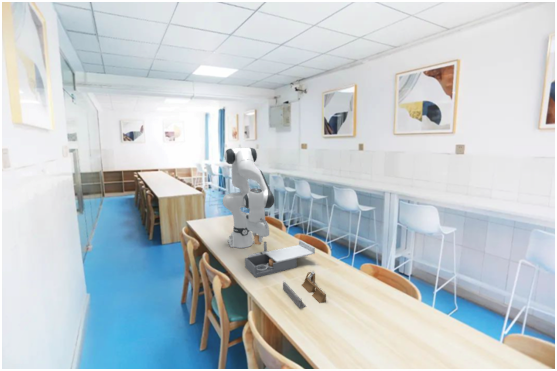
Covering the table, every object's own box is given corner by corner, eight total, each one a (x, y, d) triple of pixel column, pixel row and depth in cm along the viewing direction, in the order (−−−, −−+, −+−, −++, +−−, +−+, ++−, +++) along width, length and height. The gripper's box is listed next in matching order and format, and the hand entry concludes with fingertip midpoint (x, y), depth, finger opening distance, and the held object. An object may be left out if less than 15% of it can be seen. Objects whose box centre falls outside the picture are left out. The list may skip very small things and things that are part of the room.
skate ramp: (270, 287, 147) (270, 273, 146) (328, 274, 160) (328, 262, 159) (295, 318, 120) (295, 302, 119) (362, 300, 133) (362, 285, 132)
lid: (264, 253, 174) (264, 247, 174) (300, 245, 186) (300, 240, 186) (276, 262, 160) (276, 256, 160) (314, 253, 172) (314, 247, 172)
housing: (245, 268, 169) (244, 258, 168) (283, 259, 181) (283, 249, 180) (256, 279, 155) (255, 268, 154) (296, 268, 167) (296, 258, 166)
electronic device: (245, 244, 183) (267, 240, 189) (246, 259, 184) (267, 253, 191) (248, 247, 178) (270, 242, 185) (249, 262, 180) (271, 256, 186)
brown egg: (259, 241, 166) (258, 234, 166) (262, 243, 163) (262, 236, 162) (253, 243, 164) (252, 235, 163) (256, 245, 161) (256, 237, 160)
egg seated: (268, 266, 169) (267, 258, 169) (274, 264, 171) (273, 257, 170) (271, 268, 166) (270, 261, 165) (277, 267, 168) (276, 259, 167)
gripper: (271, 219, 155) (272, 244, 156) (253, 213, 172) (254, 235, 173) (261, 221, 151) (262, 246, 153) (244, 215, 168) (245, 237, 170)
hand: (258, 240), depth 163 cm, fingers closed on brown egg, 4 cm apart
